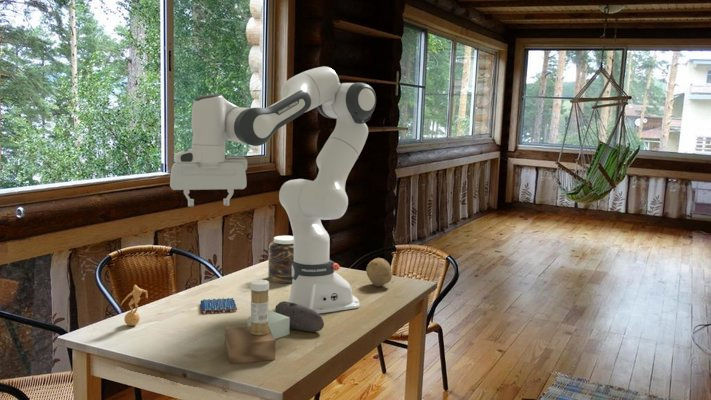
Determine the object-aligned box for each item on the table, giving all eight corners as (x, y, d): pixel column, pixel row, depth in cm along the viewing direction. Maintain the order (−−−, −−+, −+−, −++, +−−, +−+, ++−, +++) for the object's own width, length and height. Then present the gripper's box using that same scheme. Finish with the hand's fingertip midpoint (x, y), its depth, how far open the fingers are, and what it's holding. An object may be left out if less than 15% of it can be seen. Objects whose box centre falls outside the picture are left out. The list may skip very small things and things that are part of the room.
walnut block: (267, 343, 166) (267, 324, 165) (275, 359, 156) (275, 340, 155) (224, 346, 163) (224, 328, 162) (229, 363, 152) (229, 344, 152)
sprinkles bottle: (267, 329, 162) (268, 278, 160) (269, 335, 158) (270, 283, 156) (249, 330, 161) (249, 279, 159) (251, 336, 156) (251, 284, 154)
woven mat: (237, 313, 189) (237, 307, 189) (201, 316, 186) (201, 309, 186) (234, 303, 199) (234, 296, 199) (200, 305, 196) (200, 298, 196)
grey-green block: (270, 327, 178) (270, 310, 177) (289, 335, 173) (289, 317, 172) (247, 334, 172) (247, 317, 171) (266, 342, 167) (267, 324, 166)
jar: (289, 272, 234) (290, 233, 232) (308, 280, 225) (309, 239, 223) (262, 277, 227) (262, 236, 224) (280, 285, 218) (280, 242, 216)
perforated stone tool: (328, 331, 176) (328, 307, 175) (318, 337, 171) (318, 313, 170) (283, 321, 183) (284, 298, 182) (273, 326, 178) (273, 303, 177)
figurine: (140, 319, 180) (139, 279, 178) (153, 324, 177) (153, 283, 175) (114, 327, 174) (113, 285, 172) (127, 332, 170) (126, 289, 168)
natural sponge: (366, 281, 226) (366, 254, 224) (391, 282, 225) (392, 255, 224) (365, 289, 217) (366, 260, 215) (391, 290, 216) (392, 261, 215)
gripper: (245, 154, 176) (245, 203, 178) (169, 153, 170) (170, 204, 172) (249, 156, 170) (248, 206, 172) (169, 155, 164) (170, 208, 166)
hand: (208, 205), depth 172 cm, fingers open, 8 cm apart
